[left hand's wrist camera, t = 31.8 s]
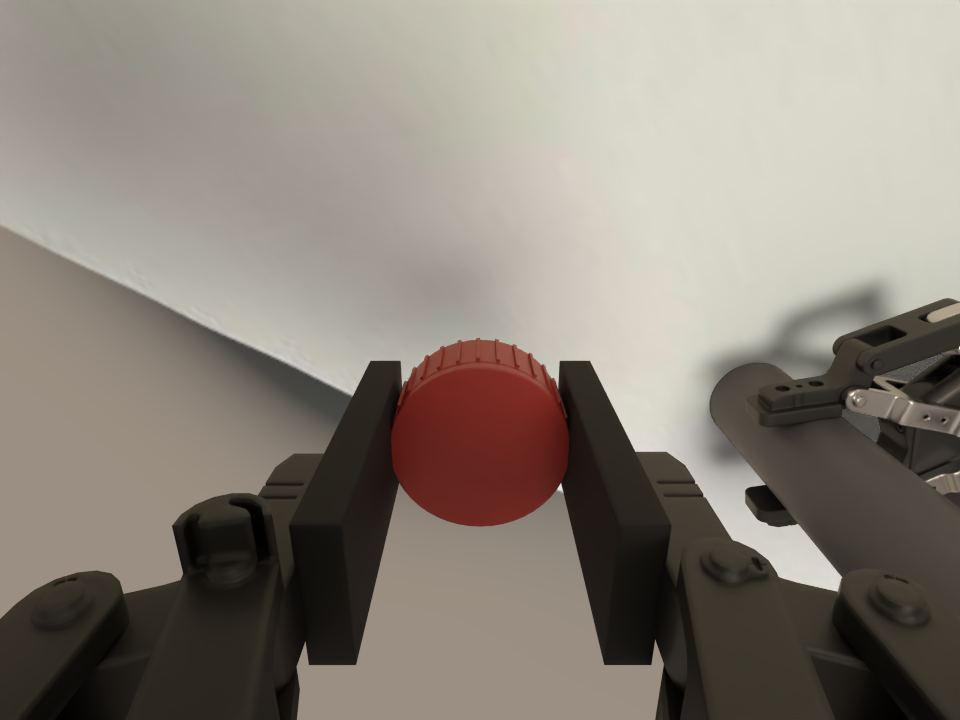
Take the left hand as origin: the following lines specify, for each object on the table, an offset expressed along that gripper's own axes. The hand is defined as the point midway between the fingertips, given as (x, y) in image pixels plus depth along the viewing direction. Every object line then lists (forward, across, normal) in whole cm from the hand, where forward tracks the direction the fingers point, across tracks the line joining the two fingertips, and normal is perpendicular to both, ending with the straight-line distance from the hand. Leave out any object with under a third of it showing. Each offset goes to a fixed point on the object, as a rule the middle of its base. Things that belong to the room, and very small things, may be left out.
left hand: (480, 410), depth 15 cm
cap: (-2, 0, 0) cm, 2 cm away
